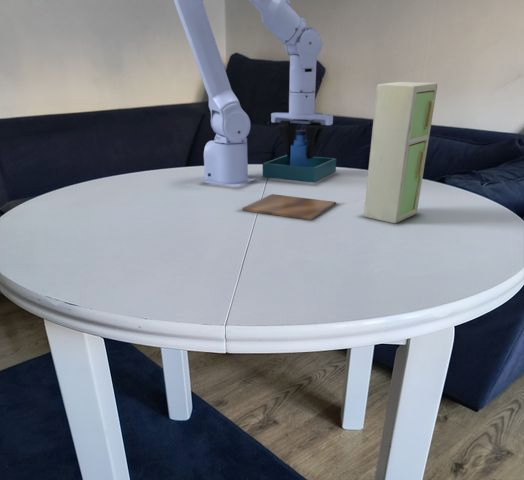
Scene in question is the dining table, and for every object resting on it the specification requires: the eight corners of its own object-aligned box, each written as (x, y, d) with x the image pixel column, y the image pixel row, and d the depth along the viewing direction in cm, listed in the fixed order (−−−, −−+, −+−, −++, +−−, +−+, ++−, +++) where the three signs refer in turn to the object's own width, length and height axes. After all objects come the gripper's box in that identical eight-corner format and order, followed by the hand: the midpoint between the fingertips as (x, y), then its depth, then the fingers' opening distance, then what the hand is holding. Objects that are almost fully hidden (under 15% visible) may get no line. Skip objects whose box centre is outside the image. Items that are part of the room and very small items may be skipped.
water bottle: (286, 175, 115) (287, 131, 110) (295, 171, 119) (296, 128, 114) (304, 176, 113) (305, 132, 108) (312, 173, 117) (314, 129, 112)
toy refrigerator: (399, 225, 82) (419, 85, 72) (362, 217, 87) (375, 83, 76) (421, 215, 87) (442, 82, 77) (385, 208, 92) (400, 81, 81)
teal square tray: (262, 179, 114) (262, 163, 112) (287, 169, 124) (287, 154, 122) (314, 185, 109) (314, 168, 107) (335, 174, 119) (336, 158, 117)
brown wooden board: (242, 210, 91) (242, 208, 91) (272, 196, 100) (272, 194, 100) (310, 220, 85) (310, 217, 85) (335, 204, 94) (335, 201, 94)
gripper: (339, 91, 107) (335, 156, 114) (281, 90, 113) (280, 152, 120) (327, 93, 102) (323, 161, 109) (266, 92, 108) (267, 156, 115)
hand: (300, 157), depth 114 cm, fingers closed on water bottle, 4 cm apart
